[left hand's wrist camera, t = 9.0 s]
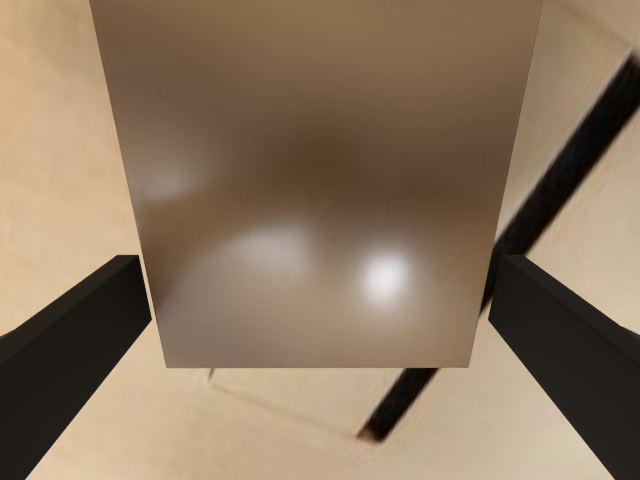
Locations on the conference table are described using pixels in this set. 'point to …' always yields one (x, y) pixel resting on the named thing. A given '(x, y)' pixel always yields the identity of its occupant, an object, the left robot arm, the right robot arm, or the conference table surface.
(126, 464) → the conference table surface
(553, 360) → the left robot arm
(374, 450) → the conference table surface
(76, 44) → the conference table surface
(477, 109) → the cabinet
